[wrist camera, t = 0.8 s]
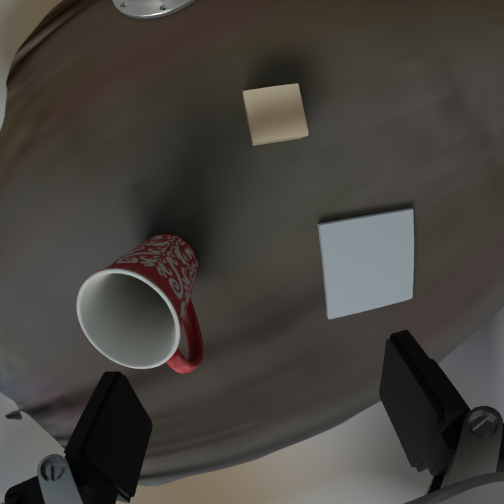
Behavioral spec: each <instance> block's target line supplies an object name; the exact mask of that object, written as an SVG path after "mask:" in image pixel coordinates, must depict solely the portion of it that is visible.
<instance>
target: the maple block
mask: <svg viewBox="0 0 504 504" xmlns="http://www.w3.org/2000/svg"><path fill="white" fill-rule="evenodd" d="M243 101H244V106H245V111H246V116H247V121H248V126H249V131H250V136H251V141H252V146H256V145H261V144H267V143H273V142H280V141H286V140H293V139H300V138H302V137H305V136H308V135H309V134H308V129H307V123H306V118H305V113H304V108H303V104H302V99H301V94H300V90H299V85H298V84H288V85H280V86H273V87H266V88H259V89H253V90H247V91H243Z"/></svg>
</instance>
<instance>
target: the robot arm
mask: <svg viewBox="0 0 504 504" xmlns="http://www.w3.org/2000/svg"><path fill="white" fill-rule="evenodd" d="M112 1H113V3H114V5H115V7H116V8H117V9H118V10H119V11H120V12H122V13H123V14H124V15H126V16H129V17H132V18H138V19H151V18H158V17H162V16H166V15H169V14H172V13H174V12H177V11H179V10H181V9H183V8H185V7H187V6H188V5H190V4H191V3H193V2H194V1H196V0H112ZM379 394H380V398H381V401H382V403H383V405H384V407H385V409H386V411H387V413H388V416H389V418H390V420H391V422H392V424H393V427H394V429H395V431H396V433H397V435H398V438H399V440H400V442H401V445H402V447H403V449H404V451H405V454H406V456H407V458H408V461H409V463H410V465H411V466H412V467H416V468H417V470H418V472H421V471H423V470H426V469H429V471H430V473H431V475H432V477H431V480H430V483H429V485H428V487H427V490H426V492H425V494H424V496H422V497H419V498H417V499H414V500H412V501H410V502H407V503H404V504H504V423H503V419H502V417H501V415H500V413H499V412H498V411H497V410H496V409H494V408H492V407H489V406H479V407H475V408H474V409H472V410H470V408H469V407H468V405H467V404H466V403H465V401H464V400H463V398H462V397H461V395H460V394H459V393H458V391H457V390H456V388H455V387H454V386H453V384H452V383H451V382H450V381H449V379H448V378H447V376H446V375H445V373H444V372H443V371H442V369H441V368H440V367H439V365H438V364H437V363H436V362H435V361H434V360H433V359H430V358H429V357H428V356H427V354H426V353H425V352H424V350H423V349H422V348H421V347H420V345H419V344H418V343H417V341H416V340H415V339H414V338H413V336H412V335H411V334H410V332H409V331H408V330H404V331H400V332H397V333H393V334H391V336H390V339H387V341H386V348H385V356H384V364H383V371H382V377H381V384H380V390H379ZM151 431H152V421H151V419H150V417H149V416H148V414H147V413H146V411H145V409H144V408H143V406H142V404H141V403H140V401H139V399H138V397H137V396H136V394H135V392H134V390H133V389H132V387H131V385H130V383H129V381H128V379H127V378H126V376H124V375H122V373H121V372H105V373H104V374H103V376H102V377H101V379H100V381H99V383H98V385H97V387H96V389H95V390H94V392H93V394H92V396H91V398H90V400H89V402H88V404H87V406H86V408H85V410H84V412H83V414H82V415H81V417H80V419H79V421H78V423H77V426H76V428H75V430H74V432H73V434H72V436H71V438H70V440H69V442H68V444H67V446H66V448H65V451H64V453H65V454H66V455H65V458H64V457H63V456H61V455H58V454H51V455H48V456H46V457H45V458H43V459H42V460H41V462H40V463H39V465H38V469H37V474H38V476H36V477H33V478H31V479H29V480H27V481H24V482H22V483H20V484H17V485H15V486H13V487H11V488H9V490H8V491H7V492H6V494H5V499H4V500H5V504H115V503H116V500H117V501H122V502H127V503H130V499H131V497H133V496H134V495H135V491H136V487H137V484H138V480H139V476H140V472H141V468H142V464H143V460H144V456H145V453H146V449H147V445H148V442H149V438H150V434H151ZM0 504H4V503H3V502H1V503H0Z"/></svg>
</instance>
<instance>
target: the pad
mask: <svg viewBox="0 0 504 504" xmlns="http://www.w3.org/2000/svg"><path fill="white" fill-rule="evenodd" d="M318 232H319V240H320V248H321V257H322V266H323V276H324V286H325V297H326V309H327V317H328V319H333V318H337V317H342V316H346V315H350V314H354V313H359V312H363V311H367V310H371V309H375V308H379V307H383V306H386V305H390V304H394V303H398V302H401V301H405V300H408V299H412V295H413V275H414V218H413V209H411V208H407V209H401V210H395V211H389V212H383V213H377V214H371V215H365V216H359V217H353V218H347V219H342V220H336V221H330V222H324V223H319V224H318Z"/></svg>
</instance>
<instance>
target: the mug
mask: <svg viewBox="0 0 504 504" xmlns="http://www.w3.org/2000/svg"><path fill="white" fill-rule="evenodd" d="M197 271H198V262H197V258H196V255H195V252H194V251H193V249H192V248H191V246H190V245H189V244H188V243H187V242H186V241H184V240H183V239H181V238H180V237H178V236H175V235H171V234H159V235H156V236H153V237H151V238H149V239H148V240H146V241H145V242H143V243H142V244H140V245H139V246H137V247H136V248H134V249H133V250H131V251H130V252H128V253H127V254H125V255H124V256H122V257H121V258H120V259H118V260H116V261H115V262H113V263H112V264H111V265H109V266H108V267H106V268H105V269H102V270H100V271H97V272H95V273H93V274H92V275H91V276H89V277H88V278H87V279H86V280H85V282H84V283H83V284H82V286H81V288H80V290H79V293H78V297H77V315H78V319H79V322H80V325H81V327H82V330H83V332H84V333H85V335H86V337H87V338H88V340H89V341H90V342H91V343H92V344H93V346H94V347H95V348H96V349H97V350H98V351H100V352H101V353H102V354H103V355H105V356H106V357H107V358H109V359H110V360H112V361H114V362H116V363H118V364H120V365H123V366H126V367H130V368H136V369H147V368H153V367H157V366H159V365H161V364H163V363H165V362H166V363H167V364H168V365H169V366H170V367H171V368H172V369H173V370H175V371H176V372H178V373H188V372H191V371H193V370H194V369H196V368H197V367H198V366H199V365H200V363H201V361H202V358H203V340H202V335H201V331H200V327H199V323H198V319H197V316H196V313H195V310H194V307H193V304H192V301H191V298H190V295H191V291H192V288H193V285H194V281H195V279H196V276H197ZM182 323H183V325H184V329H185V333H186V337H187V342H188V349H189V358H188V360H187V359H185V357H184V356H183V355H182V354H181V352H180V351H179V349H178V346H179V343H180V338H181V326H182Z"/></svg>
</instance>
